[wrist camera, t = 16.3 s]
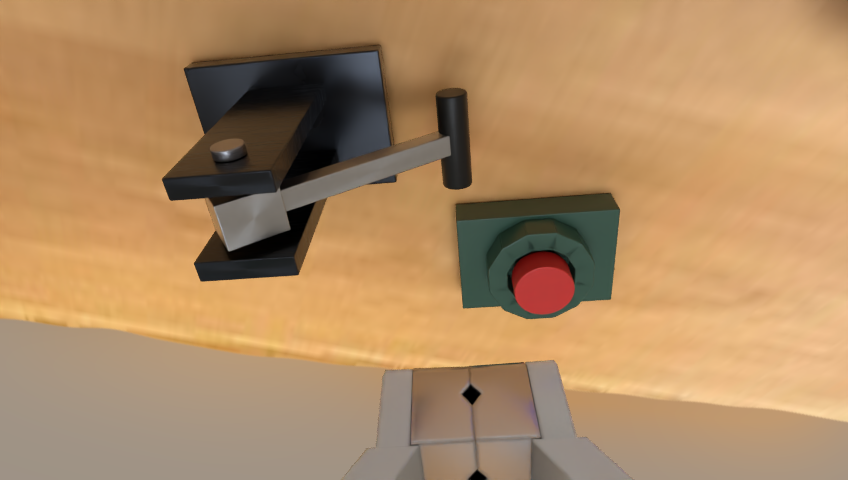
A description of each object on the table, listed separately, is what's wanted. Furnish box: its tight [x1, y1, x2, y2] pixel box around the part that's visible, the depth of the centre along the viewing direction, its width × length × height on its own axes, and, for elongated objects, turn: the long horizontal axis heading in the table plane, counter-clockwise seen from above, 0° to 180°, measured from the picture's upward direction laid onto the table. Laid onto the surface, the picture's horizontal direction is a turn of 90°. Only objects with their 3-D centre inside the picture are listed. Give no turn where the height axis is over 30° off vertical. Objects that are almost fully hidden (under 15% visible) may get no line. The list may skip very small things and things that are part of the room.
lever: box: [205, 88, 472, 252], centre depth 26 cm, size 13×5×2 cm
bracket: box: [162, 45, 397, 281], centre depth 28 cm, size 11×8×13 cm
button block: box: [456, 193, 620, 319], centre depth 36 cm, size 10×7×4 cm
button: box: [512, 251, 575, 314], centre depth 34 cm, size 4×4×2 cm
